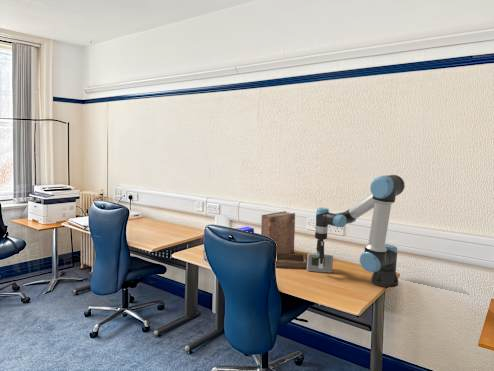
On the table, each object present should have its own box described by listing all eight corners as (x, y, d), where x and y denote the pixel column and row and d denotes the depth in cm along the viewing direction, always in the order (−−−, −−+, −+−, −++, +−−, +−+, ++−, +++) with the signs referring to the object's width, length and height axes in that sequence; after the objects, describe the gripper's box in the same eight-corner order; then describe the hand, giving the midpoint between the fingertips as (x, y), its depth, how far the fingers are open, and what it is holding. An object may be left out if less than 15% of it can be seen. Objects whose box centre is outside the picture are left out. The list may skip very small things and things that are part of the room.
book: (284, 250, 287) (286, 211, 283) (294, 252, 280) (295, 213, 276) (260, 256, 270) (261, 215, 267) (269, 259, 263) (270, 217, 260)
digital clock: (305, 271, 241) (306, 255, 240) (309, 267, 249) (309, 251, 248) (330, 275, 235) (331, 258, 233) (333, 270, 243) (334, 254, 242)
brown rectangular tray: (306, 268, 246) (306, 262, 245) (273, 267, 247) (273, 261, 247) (304, 260, 263) (304, 254, 262) (273, 259, 264) (273, 253, 264)
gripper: (313, 227, 251) (311, 258, 254) (317, 237, 227) (315, 271, 229) (324, 227, 251) (322, 258, 254) (330, 237, 226) (328, 271, 229)
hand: (319, 264), depth 242 cm, fingers open, 13 cm apart
